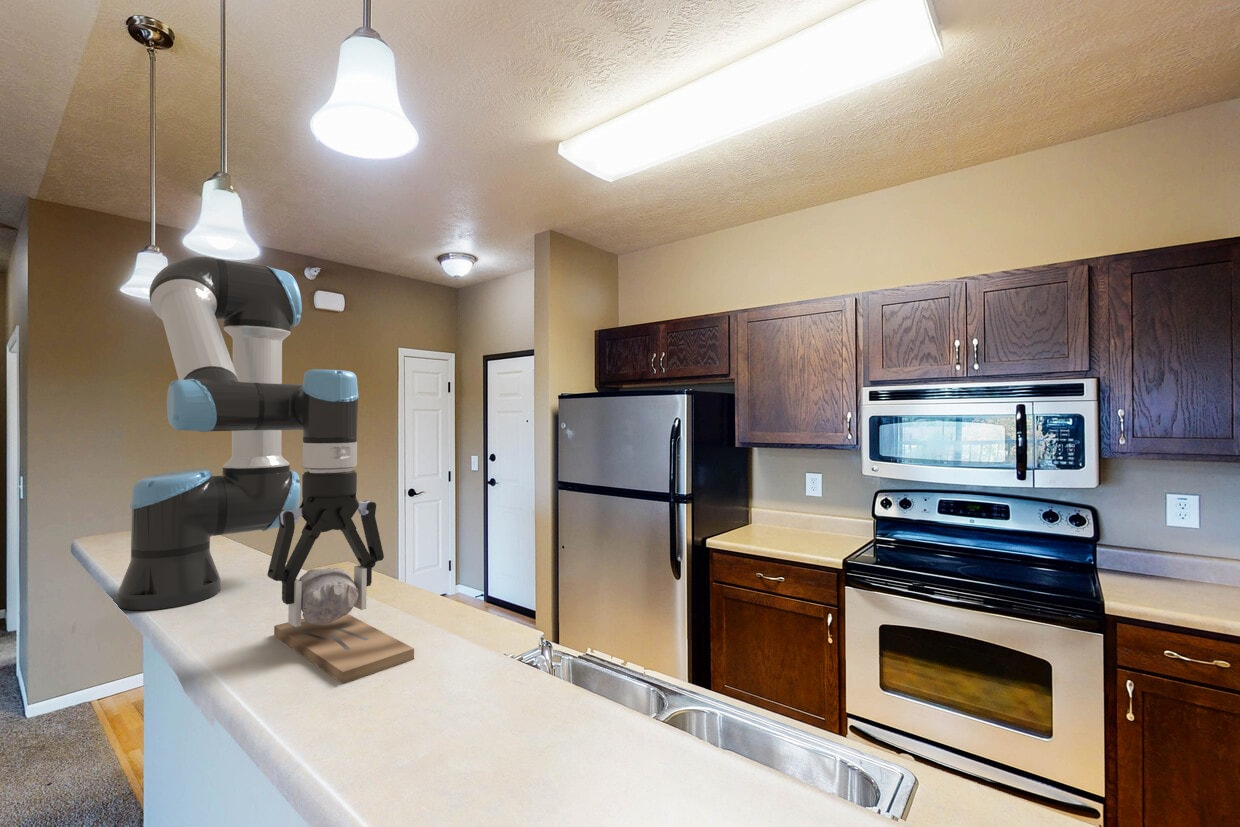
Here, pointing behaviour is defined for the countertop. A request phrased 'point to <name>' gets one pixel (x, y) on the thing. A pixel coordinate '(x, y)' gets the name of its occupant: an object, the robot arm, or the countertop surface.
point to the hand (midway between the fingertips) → (328, 615)
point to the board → (345, 647)
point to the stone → (327, 595)
